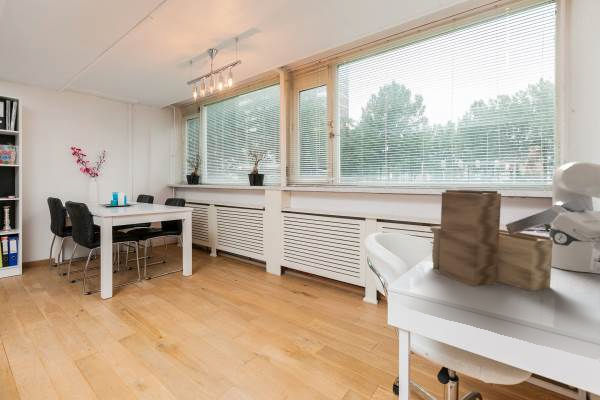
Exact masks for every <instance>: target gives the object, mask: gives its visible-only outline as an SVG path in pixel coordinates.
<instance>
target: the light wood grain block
mask: <svg viewBox="0 0 600 400" xmlns="http://www.w3.org/2000/svg"><path fill="white" fill-rule="evenodd" d="M552 245H553V240H552V239H551V237H550V236H546V235H540V234H532V233H525V232H519V233H516V234H509V232H508V229H500V228H499V248H498V268H497V282H501V283H505V284H508V285H510V286H512V287H515V288H516V287H517V288H520V289H521V290H525V291H529V292H532V291H537V290H541V289H547V288H548V289H549V288H551V275H552V274H551V273H552V266H551V262H552Z"/></svg>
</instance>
